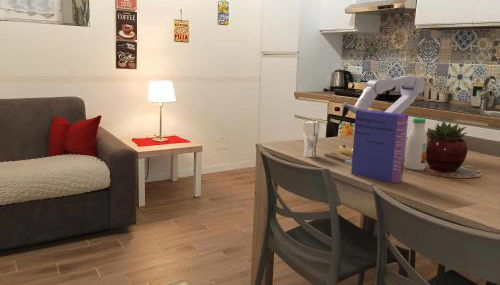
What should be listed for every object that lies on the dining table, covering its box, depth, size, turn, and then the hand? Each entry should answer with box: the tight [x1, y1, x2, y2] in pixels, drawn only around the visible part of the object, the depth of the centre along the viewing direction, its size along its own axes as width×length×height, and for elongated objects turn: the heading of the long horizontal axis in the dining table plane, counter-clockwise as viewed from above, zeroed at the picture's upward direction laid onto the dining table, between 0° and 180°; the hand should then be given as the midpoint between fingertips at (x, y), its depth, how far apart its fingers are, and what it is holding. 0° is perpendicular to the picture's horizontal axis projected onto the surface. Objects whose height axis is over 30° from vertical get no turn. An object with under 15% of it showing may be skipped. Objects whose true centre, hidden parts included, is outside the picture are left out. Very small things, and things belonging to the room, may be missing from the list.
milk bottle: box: [403, 117, 428, 171], centre depth 176 cm, size 8×8×20 cm
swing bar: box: [338, 144, 353, 156], centre depth 192 cm, size 12×4×3 cm, turn 28°
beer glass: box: [303, 120, 321, 158], centre depth 192 cm, size 7×7×15 cm
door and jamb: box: [323, 151, 352, 166], centre depth 187 cm, size 18×26×4 cm
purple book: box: [350, 109, 410, 185], centre depth 159 cm, size 17×5×24 cm, turn 50°
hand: (347, 128), depth 191 cm, fingers open, 7 cm apart
